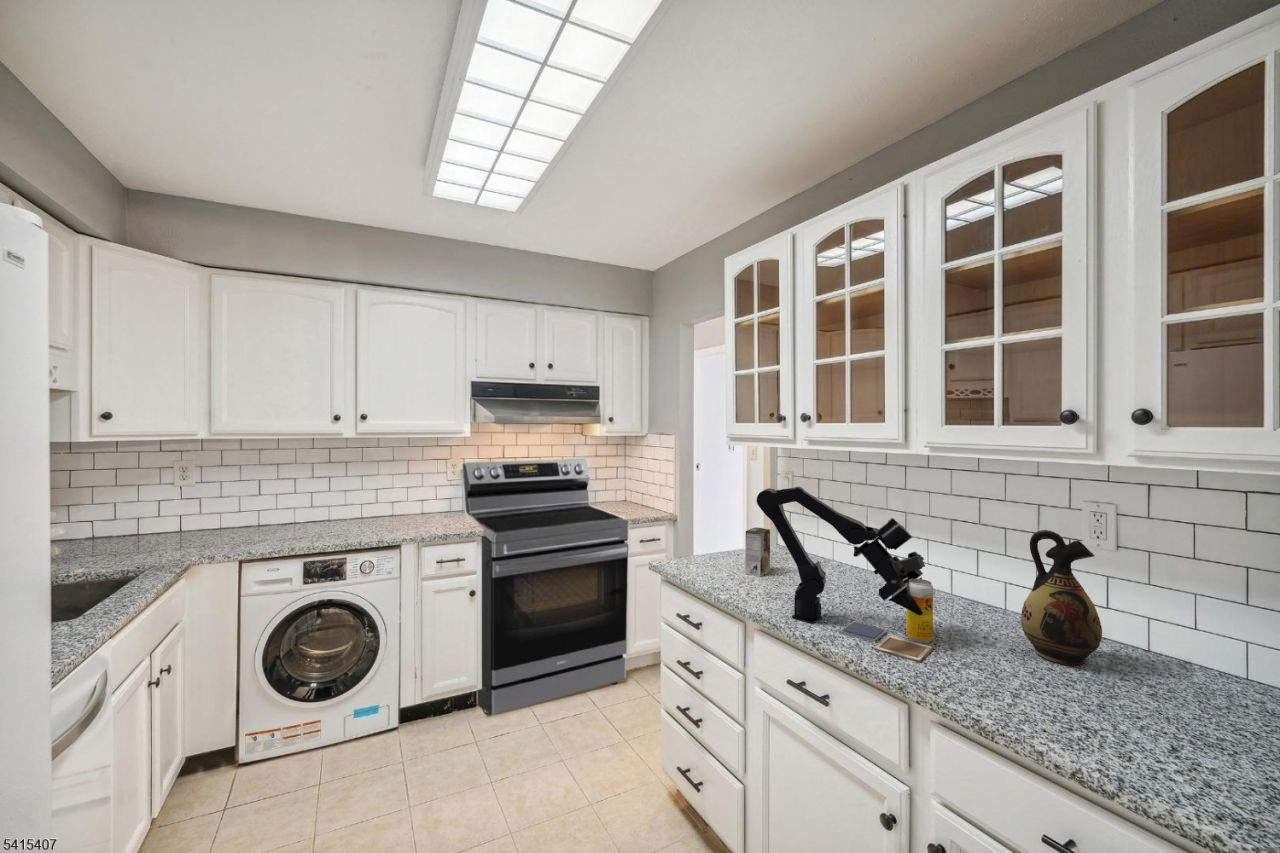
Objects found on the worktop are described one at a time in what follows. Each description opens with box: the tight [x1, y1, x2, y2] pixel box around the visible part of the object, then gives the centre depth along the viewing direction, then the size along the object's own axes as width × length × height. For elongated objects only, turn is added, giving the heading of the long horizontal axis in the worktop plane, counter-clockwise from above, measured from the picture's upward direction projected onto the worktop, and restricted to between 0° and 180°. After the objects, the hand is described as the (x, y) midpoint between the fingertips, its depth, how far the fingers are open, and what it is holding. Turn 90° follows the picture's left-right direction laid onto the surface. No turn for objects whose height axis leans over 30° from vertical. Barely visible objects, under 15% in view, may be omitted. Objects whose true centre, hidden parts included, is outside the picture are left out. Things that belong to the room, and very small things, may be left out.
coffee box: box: [744, 526, 771, 577], centre depth 203 cm, size 9×6×16 cm
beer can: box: [905, 578, 934, 644], centre depth 141 cm, size 6×6×15 cm
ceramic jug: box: [1012, 529, 1103, 667], centre depth 131 cm, size 17×15×30 cm
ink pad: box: [839, 621, 888, 643], centre depth 145 cm, size 9×9×1 cm
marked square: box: [872, 635, 935, 664], centre depth 135 cm, size 11×11×1 cm
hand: (925, 611), depth 140 cm, fingers open, 7 cm apart
